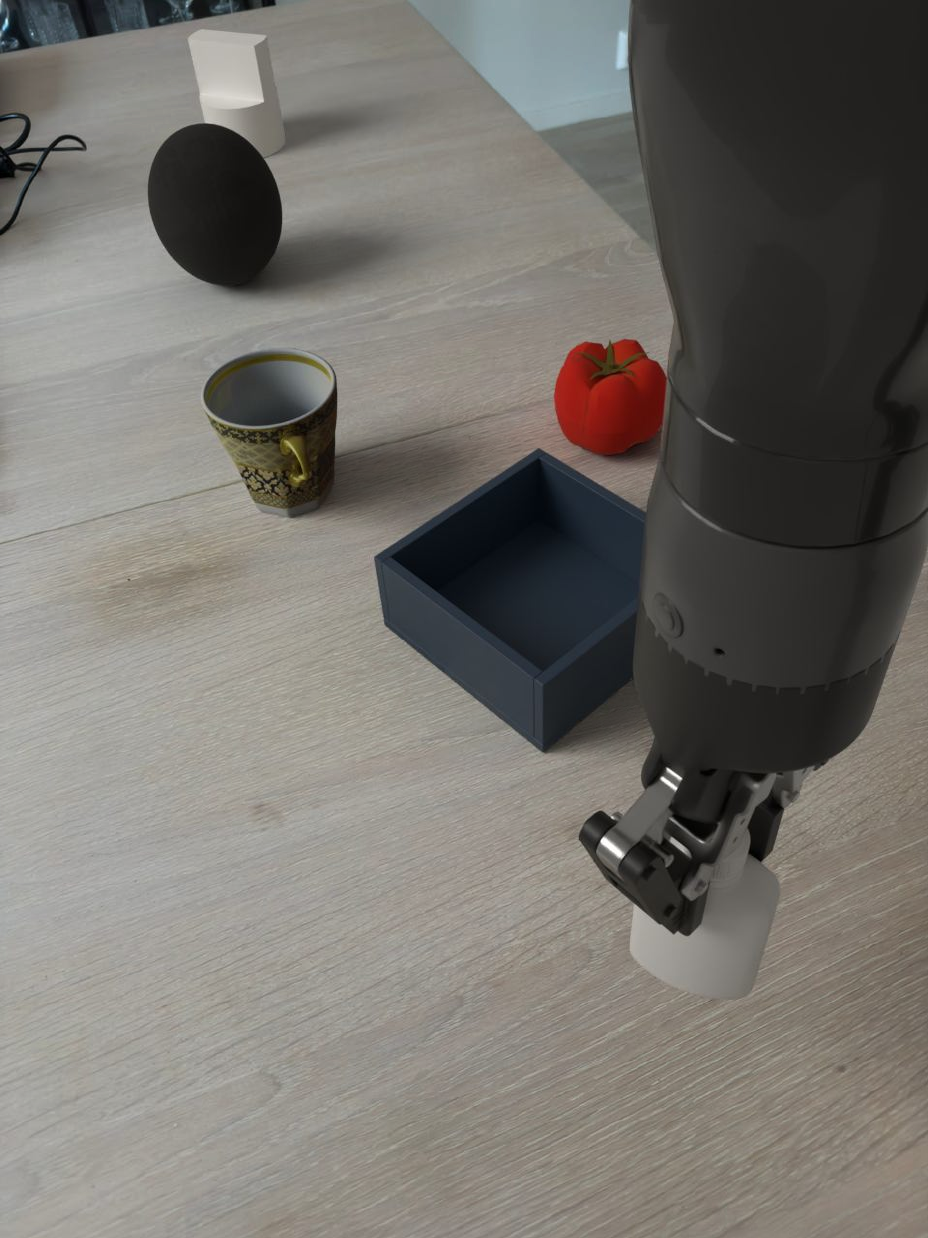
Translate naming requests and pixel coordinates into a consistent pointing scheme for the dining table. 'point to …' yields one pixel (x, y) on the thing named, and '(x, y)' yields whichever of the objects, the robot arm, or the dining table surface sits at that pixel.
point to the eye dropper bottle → (715, 932)
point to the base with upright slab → (238, 86)
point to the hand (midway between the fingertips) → (709, 878)
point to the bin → (523, 594)
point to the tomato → (609, 396)
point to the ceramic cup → (277, 425)
